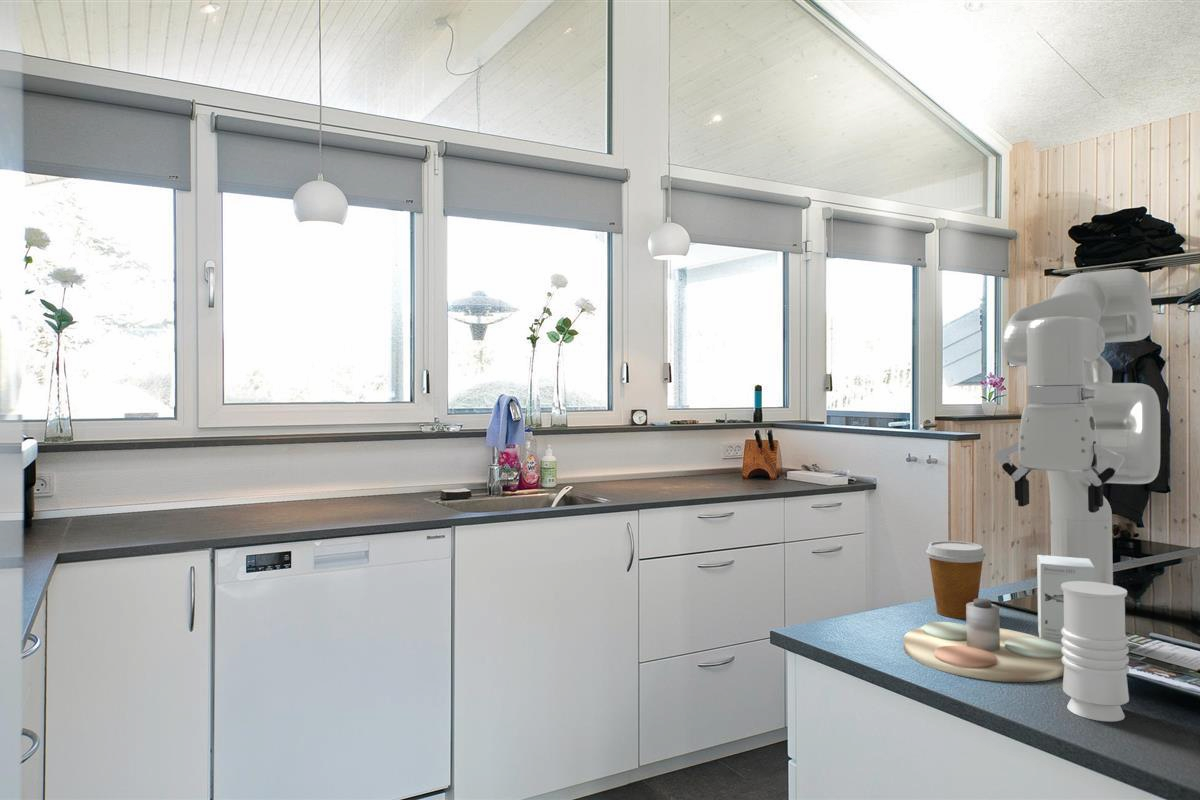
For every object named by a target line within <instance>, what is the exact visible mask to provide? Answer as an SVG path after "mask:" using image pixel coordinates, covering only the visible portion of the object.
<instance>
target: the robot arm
mask: <svg viewBox="0 0 1200 800" xmlns="http://www.w3.org/2000/svg"><path fill="white" fill-rule="evenodd" d="M1149 288H1150V287H1149V285H1148V282H1147V280H1146V278H1145V277H1144V276H1143V274H1141V272H1139V271H1137V270H1135V269H1132V268H1120V269H1119V268H1118V269H1110V270H1097V271H1091V272H1089V271H1088V272H1080V273H1075V274H1072V275H1069V276H1066V277H1064V278H1063V279H1062V280H1060V282H1059V283H1057V285H1056V286H1055V289H1054V291H1053V292H1052V295H1051V296H1050V297H1049V298H1045V299H1044V300H1042V301H1041V300H1040V301H1038V302H1036V303H1033V304H1030V305H1027V306H1025V307H1022V308H1021V309H1019V310H1017V311H1015V312H1014V313H1013V314H1012V315H1011V317H1010V318H1009V320H1008V322H1007V323H1006V325H1005V328H1004V330H1003V334H1002V339H1001V349H1002V354H1003V357H1004V359H1005V360H1006V361H1007V363H1009V364H1011V365H1013V366H1017V367H1027V369H1026V370H1027V372H1026V373H1027V374H1026V375H1027V405H1026V406H1023V409H1022V414H1021V418H1020V424H1019V425H1020V426H1019V431H1018V432H1019V433H1018V442H1015V443H1014V444H1011V445H1010V446H1007V447H1004V448H1002V449H1001V450H997V452H996V453H995V456H996V458H997V460H998V462H999V464H1001V467H1002V470H1003V471H1004V472H1006V473H1007V474H1008V476H1010V477H1011V480H1012V481H1014V499H1015V500H1016V501H1017V505H1018V507H1025V506H1027V505H1029V504H1030V480H1028V478H1027V476H1028V475H1029V474H1030V473H1031V471H1045V472H1046V474H1047V481H1048V486H1049V488H1048V489H1049V501H1050V502H1049V504H1050V508H1049V509H1050V556H1061V557H1073V558H1087V559H1091V562H1092V564H1093V566H1094V567H1095V582H1099V583H1105V584H1111V585H1114V576H1113V575H1114V573H1113V572H1114V571H1113V570H1114V569H1113V568H1114V567H1113V515H1112V514H1113V512H1112V508H1111V505H1110V503H1109V501H1108V499H1107V498H1106V497H1105V495H1104V484H1122V485H1145V484H1150V483H1152V482H1153V481H1154V480H1155V479H1156V478H1157V477H1158V475H1159V471H1160V467H1161V404H1160V400H1159V396H1158V394H1157V392H1156V391H1155V389H1154V388H1153V387H1151V386H1150V385H1148V384H1146V383H1145V384H1144V383H1140V382H1139V383H1138V382H1113V369H1112V368H1113V367H1112V366H1111V365H1110V363H1109V361H1107V360H1106V359H1105V358H1104V357H1103V356H1102V355H1101V354H1102V353H1103V352H1104V351H1105V346H1106V343H1107V344H1109V343H1124V342H1125V343H1128V342H1137V341H1142V340H1144V339H1146V338H1147V337H1148V336H1150V334H1151V332H1152V330H1153V327H1154V313H1153V312H1154V311H1153V306H1152V298H1151V293H1150V289H1149ZM1016 453H1018V456H1017V457H1018V463H1019V466H1018V467H1017V466H1016V465H1015V464H1014V463H1013V462H1011V459H1010V457H1011V455H1013V454H1016Z"/></svg>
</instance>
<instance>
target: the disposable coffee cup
mask: <svg viewBox="0 0 1200 800" xmlns="http://www.w3.org/2000/svg"><path fill="white" fill-rule="evenodd" d="M925 552H926V554H927V557H928V559H929V566H930V574H931V578H932V579H931V580H932V581H931V582H932V587H933V592H934V593H933V594H934V599H935V607H936V612H937V614H938V615H941V616H944V617H948V618H954V619H966V604H967V603H970V602H973V600H974V599H978V598H979V595H980V586H981V578H982V569H983V561H984V560H985V558H986V556H987V555H986V553H985V551H984V547H983V546H982V545H980V544H977V543H974V542H969V541H960V540H937V541H931V542H929V543H928V546H927V549H926V550H925Z"/></svg>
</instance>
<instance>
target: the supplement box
mask: <svg viewBox="0 0 1200 800" xmlns="http://www.w3.org/2000/svg"><path fill="white" fill-rule="evenodd" d="M1036 558H1037V559H1036V561H1037V562H1036V567H1037V571H1036V573H1037V575H1036V576H1037V631H1038V637H1039V638H1042V639H1045V640H1047V641H1051V642H1055V643H1058V644H1060V645H1062V643H1061V639H1062V638H1063V635H1062V634H1061V630H1062V628H1063V627H1064V591H1063V590H1062V589H1061V584H1062V583H1064V582H1070V581H1088V582H1095V567H1094V566H1093V564H1092V562H1091V559H1087V558H1073V557H1061V556H1051V555H1048V554H1046V555H1045V554H1038V555H1036ZM1063 646H1064V645H1063Z"/></svg>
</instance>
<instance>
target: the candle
mask: <svg viewBox="0 0 1200 800" xmlns="http://www.w3.org/2000/svg"><path fill="white" fill-rule="evenodd" d="M1061 589H1062V590H1063V591H1064V627H1063V628H1062V630H1061V634H1062V635H1063V638H1062V639H1061V643H1062V645H1064V646H1063V647H1062V649H1061V650H1062V654H1063V657H1062V663H1063V664H1064V675H1063V678H1062V691H1063V692H1064V693H1065V694H1066V695H1067V696H1069V697H1070V699H1069V701H1068V703H1067V705H1066V707H1067V710H1069V712H1071V713H1073V714H1075V715H1077V716H1079V717H1082V718H1085V719H1088V720H1094V721H1098V722H1119V721H1122V720H1124V719H1125V717H1126V715H1125V712H1123V709H1122V707H1121V706H1122V705H1126V704H1127V703H1129V701H1130V695H1129V687H1128V686H1129V685H1128V677H1127V675H1128V674H1129V672H1130V667H1129V665H1128V664H1129V662H1130V657H1129V656H1128V654H1129V651H1130V648H1129V646H1128V645H1127V644H1129V639H1130V638H1129V637H1128V635H1127V634H1126V601H1125V600H1126V599H1125V598H1126V597H1127V595H1128V590H1127V589H1126V588H1123V587H1121V586H1119V585H1114V584H1113V585H1111V584H1105V583H1099V582H1088V581H1070V582H1064V583H1062V584H1061Z"/></svg>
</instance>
